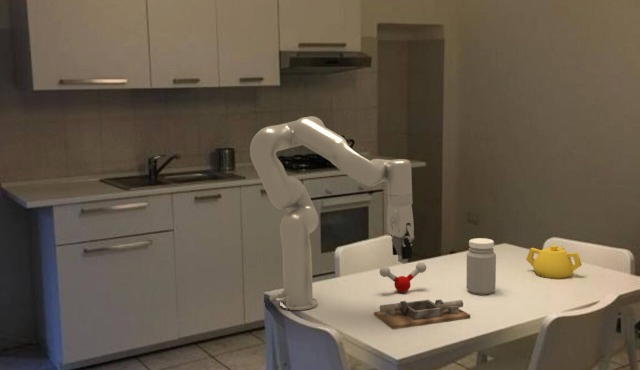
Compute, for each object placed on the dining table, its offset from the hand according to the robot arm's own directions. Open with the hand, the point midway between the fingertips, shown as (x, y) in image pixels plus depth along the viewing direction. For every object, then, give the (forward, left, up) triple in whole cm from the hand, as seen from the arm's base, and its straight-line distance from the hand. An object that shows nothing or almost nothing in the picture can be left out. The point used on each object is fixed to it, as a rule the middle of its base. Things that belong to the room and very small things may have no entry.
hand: (402, 256), depth 223 cm
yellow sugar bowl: (+73, +20, -19) cm, 78 cm away
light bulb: (0, 0, -2) cm, 2 cm away
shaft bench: (+4, -6, -18) cm, 20 cm away
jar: (+35, +10, -19) cm, 41 cm away
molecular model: (+10, +20, -19) cm, 29 cm away
